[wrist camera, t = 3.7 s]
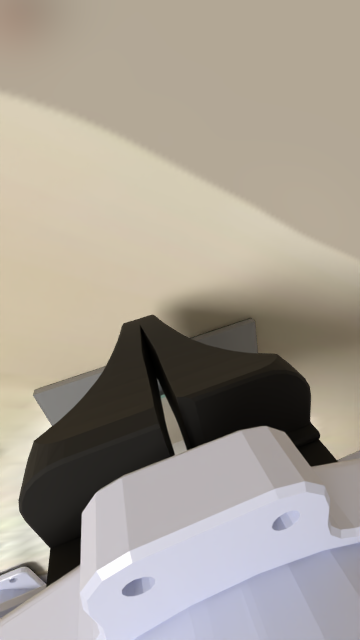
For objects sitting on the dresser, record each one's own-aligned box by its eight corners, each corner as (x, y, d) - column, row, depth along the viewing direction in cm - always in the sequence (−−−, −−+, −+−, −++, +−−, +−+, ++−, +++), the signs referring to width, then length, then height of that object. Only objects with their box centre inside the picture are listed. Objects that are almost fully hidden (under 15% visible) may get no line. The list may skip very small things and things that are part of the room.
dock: (147, 574, 25) (152, 606, 24) (34, 390, 14) (25, 422, 13) (269, 520, 27) (283, 546, 25) (251, 318, 16) (272, 337, 14)
